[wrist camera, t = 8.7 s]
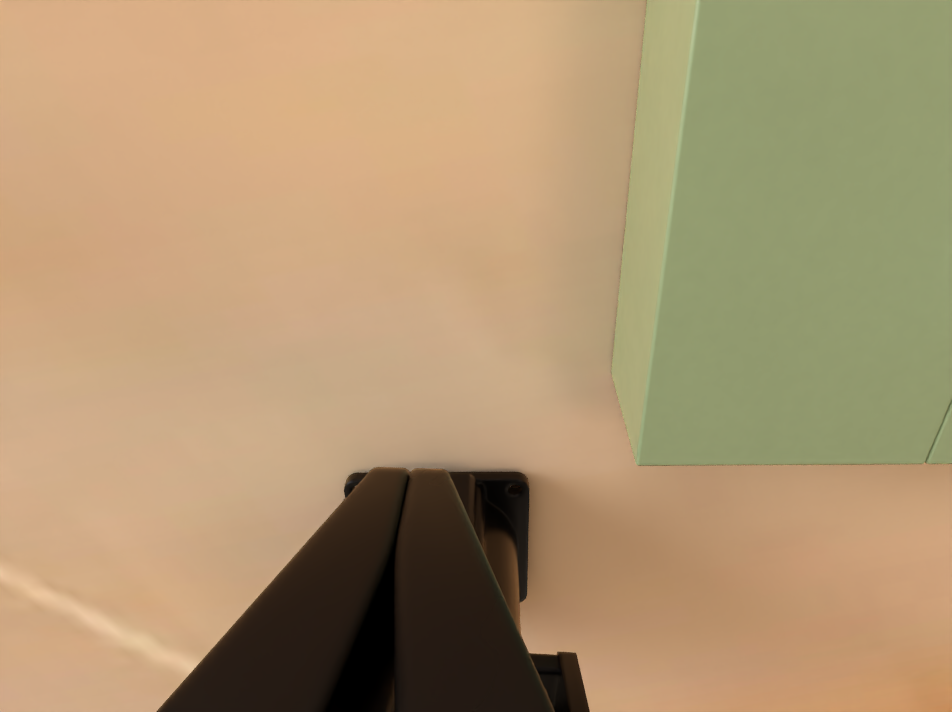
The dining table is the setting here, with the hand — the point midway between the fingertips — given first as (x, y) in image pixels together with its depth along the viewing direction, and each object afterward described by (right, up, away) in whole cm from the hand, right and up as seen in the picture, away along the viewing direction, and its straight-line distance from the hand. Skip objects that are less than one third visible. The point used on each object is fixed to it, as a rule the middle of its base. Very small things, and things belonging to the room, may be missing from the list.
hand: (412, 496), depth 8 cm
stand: (+13, +6, +10) cm, 18 cm away
